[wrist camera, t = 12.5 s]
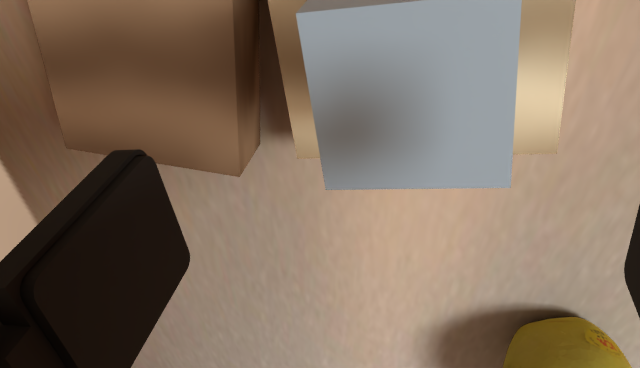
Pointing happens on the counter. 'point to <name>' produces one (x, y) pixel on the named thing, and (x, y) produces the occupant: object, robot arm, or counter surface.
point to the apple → (563, 346)
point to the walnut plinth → (155, 78)
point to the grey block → (412, 91)
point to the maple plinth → (532, 77)
